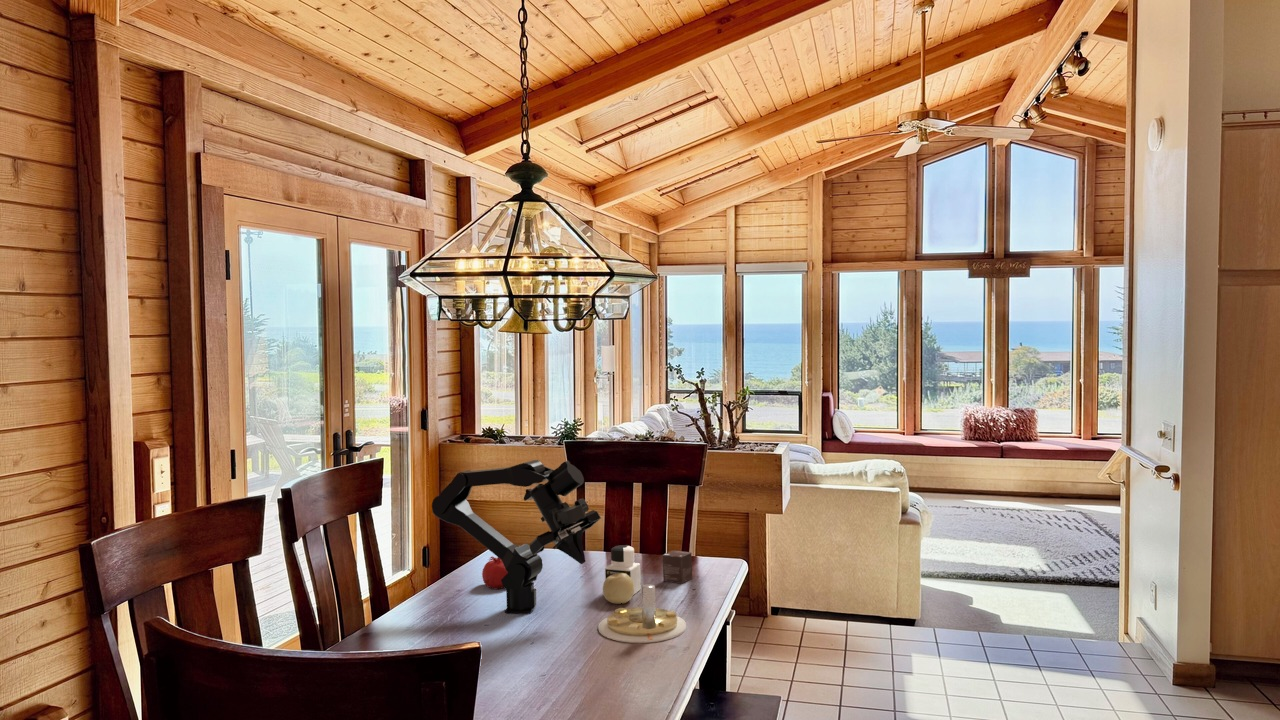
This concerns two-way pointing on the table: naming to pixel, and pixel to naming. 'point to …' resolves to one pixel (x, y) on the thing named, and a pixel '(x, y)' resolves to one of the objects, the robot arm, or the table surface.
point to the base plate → (642, 639)
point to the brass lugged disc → (643, 617)
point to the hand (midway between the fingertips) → (583, 563)
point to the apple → (618, 588)
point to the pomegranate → (494, 573)
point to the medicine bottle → (624, 565)
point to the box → (677, 566)
